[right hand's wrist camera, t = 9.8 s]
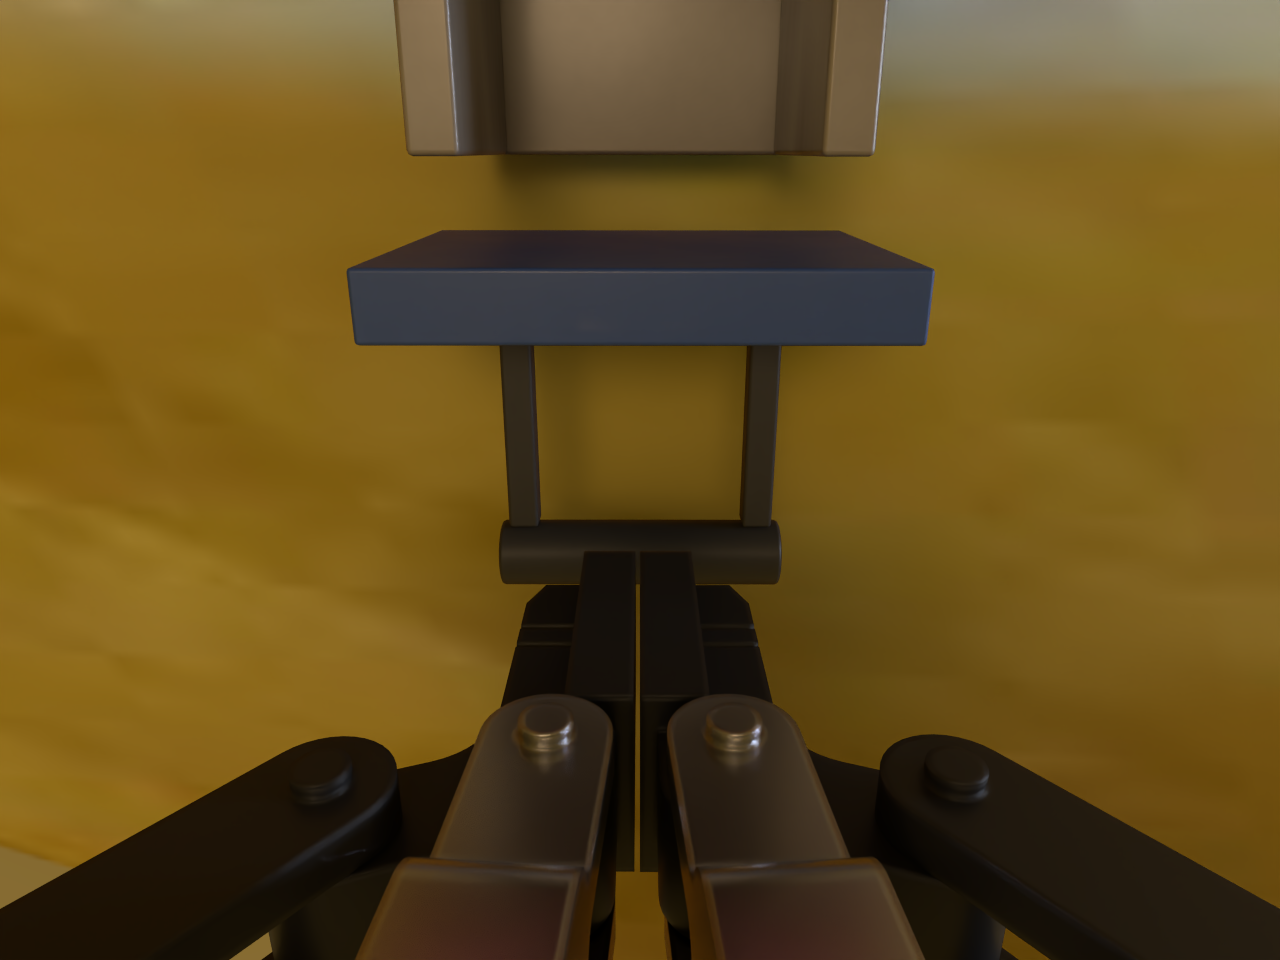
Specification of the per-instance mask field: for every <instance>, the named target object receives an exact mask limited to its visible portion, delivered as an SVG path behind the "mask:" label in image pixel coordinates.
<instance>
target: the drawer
mask: <svg viewBox="0 0 1280 960" xmlns="http://www.w3.org/2000/svg"><path fill="white" fill-rule="evenodd" d="M887 11H888V0H394V12H395V23H396V35H397V46H398V57H399V69H400V80H401V91H402V103H403V114H404V125H405V137H406V148H407V151H408V154H410V155H412V156H472V155H503V154H549V155H801V156H871V155H873V153H874V151H875V145H876V133H877V122H878V111H879V100H880V89H881V78H882V67H883V56H884V45H885V34H886V22H887ZM934 274H935V272H934V269H932V268H930V267H927V266H925V265H922V264H920V263H917V262H915V261H912V260H910V259H907V258H905V257H902V256H900V255H897V254H895V253H893V252H890V251H888V250H885V249H883V248H880V247H878V246H875V245H873V244H870V243H868V242H865V241H863V240H861V239H858V238H856V237H853V236H851V235H848V234H846V233H843V232H841V231H583V230H442V231H439V232H437V233H434V234H432V235H429V236H427V237H425V238H422V239H420V240H417V241H415V242H412V243H410V244H407V245H405V246H402V247H400V248H397V249H395V250H393V251H390V252H388V253H385V254H383V255H380V256H378V257H375V258H373V259H370V260H368V261H365V262H363V263H361V264H358V265H356V266H353V267H351V268H348V269H347V280H348V288H349V297H350V305H351V314H352V323H353V331H354V340H355V343H356V344H357V345H488V346H500V362H501V379H502V397H503V414H504V432H505V449H506V467H507V485H508V502H509V520H506V521H504V522H503V525H502V528H501V532H500V541H499V567H500V575H501V578H502V581H503V583H505V584H580V578H581V571H582V564H583V557H584V551H635V554H636V584H640V551H691V554H692V561H693V569H694V577H695V584H776V583H777V582H778V580H779V577H780V572H781V556H782V552H781V536H780V530H779V526H778V523H777V522H776V521H775V520H771V513H772V496H773V479H774V462H775V445H776V428H777V411H778V394H779V377H780V360H781V346H922V345H925V344H926V341H927V333H928V325H929V316H930V308H931V300H932V291H933V283H934ZM534 346H747V359H746V382H745V404H744V426H743V449H742V471H741V493H740V519H741V520H540V517H541V502H540V479H539V456H538V432H537V409H536V386H535V362H534Z"/></svg>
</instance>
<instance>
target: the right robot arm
mask: <svg viewBox="0 0 1280 960" xmlns="http://www.w3.org/2000/svg"><path fill="white" fill-rule="evenodd" d="M635 713H636V554H635V551H584V557H583V564H582V571H581V578H580V585H546V586H545V587H544V588H543V589H542V590H541V591H539V592H538V593H537V594H536V595H535V596H534V597H533V598H532V599H531V600H530V601H529V602H528V603H527V604H526V608H525V612H524V616H523V620H522V624H521V629H520V632H519V636H518V640H517V647H516V648H515V652H514V656H513V660H512V664H511V668H510V672H509V676H508V680H507V684H506V688H505V692H504V696H503V700H502V704H501V708H499V709H498V710H496V711H495V712H494V713H493V714H491V715H490V716H489V717H488V719H487V720H486V721H485V722H484V724H483V726H482V727H481V729H480V732H479V734H478V737H477V739H476V742H475V744H473V745H472V746H470V747H468V748H467V749H465V750H463V751H461V752H459V753H457V754H454V755H451V756H449V757H446V758H443V759H439V760H436V761H432V762H428V763H423V764H419V765H414V766H409V767H405V768H400V769H397V766H396V762H395V759H394V757H393V755H392V754H391V753H390V751H389V750H388V749H386V748H385V747H384V746H383V745H381V744H379V743H377V742H375V741H372V740H368V739H365V738H359V737H349V736H340V737H329V738H323V739H317V740H314V741H310V742H307V743H304V744H301V745H298V746H296V747H293V748H291V749H289V750H287V751H285V752H283V753H281V754H279V755H277V756H276V757H274V758H272V759H270V760H268V761H267V762H265V763H263V764H261V765H259V766H258V767H256V768H254V769H252V770H250V771H248V772H247V773H245V774H243V775H241V776H239V777H238V778H236V779H234V780H232V781H230V782H229V783H227V784H225V785H223V786H221V787H220V788H218V789H216V790H214V791H212V792H211V793H209V794H207V795H205V796H203V797H202V798H200V799H198V800H196V801H194V802H192V803H191V804H189V805H187V806H185V807H183V808H182V809H180V810H178V811H176V812H174V813H173V814H171V815H169V816H167V817H165V818H164V819H162V820H160V821H158V822H156V823H155V824H153V825H151V826H149V827H147V828H146V829H144V830H142V831H140V832H138V833H137V834H135V835H133V836H131V837H129V838H127V839H126V840H124V841H122V842H120V843H118V844H117V845H115V846H113V847H111V848H109V849H108V850H106V851H104V852H102V853H100V854H99V855H97V856H95V857H93V858H91V859H90V860H88V861H86V862H84V863H82V864H81V865H79V866H77V867H75V868H73V869H71V870H70V871H68V872H66V873H64V874H62V875H61V876H59V877H57V878H55V879H53V880H52V881H50V882H48V883H46V884H44V885H43V886H41V887H39V888H37V889H35V890H34V891H32V892H30V893H28V894H26V895H25V896H23V897H21V898H19V899H17V900H16V901H14V902H12V903H10V904H8V905H6V906H5V907H3V908H1V909H0V960H229V959H231V958H232V957H234V956H235V955H237V954H238V953H239V952H241V951H242V950H243V949H245V948H246V947H248V946H249V945H251V944H252V943H253V942H255V941H256V940H258V939H259V938H260V937H262V936H263V935H265V934H266V933H268V932H269V936H270V942H271V947H272V953H270V954H269V955H267V956H266V957H265V958H263V959H262V960H613V953H614V945H615V932H616V924H615V886H616V871H634V837H635ZM640 872H658V889H659V902H660V906H661V909H662V912H663V914H664V915H665V924H664V933H665V945H666V953H667V960H1018V959H1017V958H1015V957H1014V956H1013V955H1011V954H1010V953H1009V952H1007V951H1006V950H1004V949H1003V948H1002V943H1003V938H1004V933H1005V928H1007V929H1008V930H1010V931H1011V932H1012V933H1014V934H1015V935H1017V936H1018V937H1019V938H1021V939H1022V940H1024V941H1025V942H1027V943H1028V944H1029V945H1031V946H1032V947H1034V948H1035V949H1036V950H1038V951H1039V952H1041V953H1042V954H1043V955H1045V956H1046V957H1048V958H1049V959H1050V960H1280V909H1279V908H1277V907H1275V906H1273V905H1272V904H1270V903H1268V902H1266V901H1264V900H1263V899H1261V898H1259V897H1257V896H1255V895H1254V894H1252V893H1250V892H1248V891H1246V890H1245V889H1243V888H1241V887H1239V886H1237V885H1236V884H1234V883H1232V882H1230V881H1228V880H1227V879H1225V878H1223V877H1221V876H1219V875H1218V874H1216V873H1214V872H1212V871H1210V870H1208V869H1207V868H1205V867H1203V866H1201V865H1199V864H1198V863H1196V862H1194V861H1192V860H1190V859H1189V858H1187V857H1185V856H1183V855H1181V854H1180V853H1178V852H1176V851H1174V850H1172V849H1171V848H1169V847H1167V846H1165V845H1163V844H1162V843H1160V842H1158V841H1156V840H1154V839H1152V838H1151V837H1149V836H1147V835H1145V834H1143V833H1142V832H1140V831H1138V830H1136V829H1134V828H1133V827H1131V826H1129V825H1127V824H1125V823H1124V822H1122V821H1120V820H1118V819H1116V818H1115V817H1113V816H1111V815H1109V814H1107V813H1106V812H1104V811H1102V810H1100V809H1098V808H1097V807H1095V806H1093V805H1091V804H1089V803H1087V802H1086V801H1084V800H1082V799H1080V798H1078V797H1077V796H1075V795H1073V794H1071V793H1069V792H1068V791H1066V790H1064V789H1062V788H1060V787H1059V786H1057V785H1055V784H1053V783H1051V782H1050V781H1048V780H1046V779H1044V778H1042V777H1041V776H1039V775H1037V774H1035V773H1033V772H1031V771H1030V770H1028V769H1026V768H1024V767H1022V766H1021V765H1019V764H1017V763H1015V762H1013V761H1012V760H1010V759H1008V758H1006V757H1004V756H1003V755H1001V754H999V753H997V752H995V751H993V750H991V749H989V748H987V747H985V746H983V745H981V744H978V743H975V742H973V741H970V740H966V739H962V738H959V737H953V736H947V735H935V734H933V735H919V736H912V737H909V738H906V739H902V740H900V741H898V742H896V743H894V744H893V745H892V746H891V747H889V748H888V749H887V751H886V752H885V753H884V755H883V757H882V759H881V762H880V770H876V769H872V768H867V767H863V766H858V765H854V764H849V763H845V762H841V761H837V760H833V759H830V758H827V757H824V756H822V755H819V754H817V753H815V752H813V751H811V750H809V749H807V747H806V744H805V742H804V739H803V737H802V734H801V732H800V729H799V727H798V726H797V724H796V722H795V721H794V720H793V719H792V717H791V716H790V715H789V714H787V713H786V712H785V711H784V710H782V709H781V708H779V707H777V706H776V705H774V704H773V703H772V699H771V694H770V690H769V686H768V682H767V678H766V674H765V669H764V665H763V661H762V657H761V653H760V649H759V647H758V640H757V636H756V632H755V629H754V624H753V620H752V615H751V611H750V607H749V603H748V602H746V601H745V600H744V599H743V598H742V597H741V596H740V595H739V594H738V593H737V592H736V591H735V590H734V589H733V588H732V587H730V586H729V585H695V577H694V569H693V561H692V554H691V551H640Z"/></svg>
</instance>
